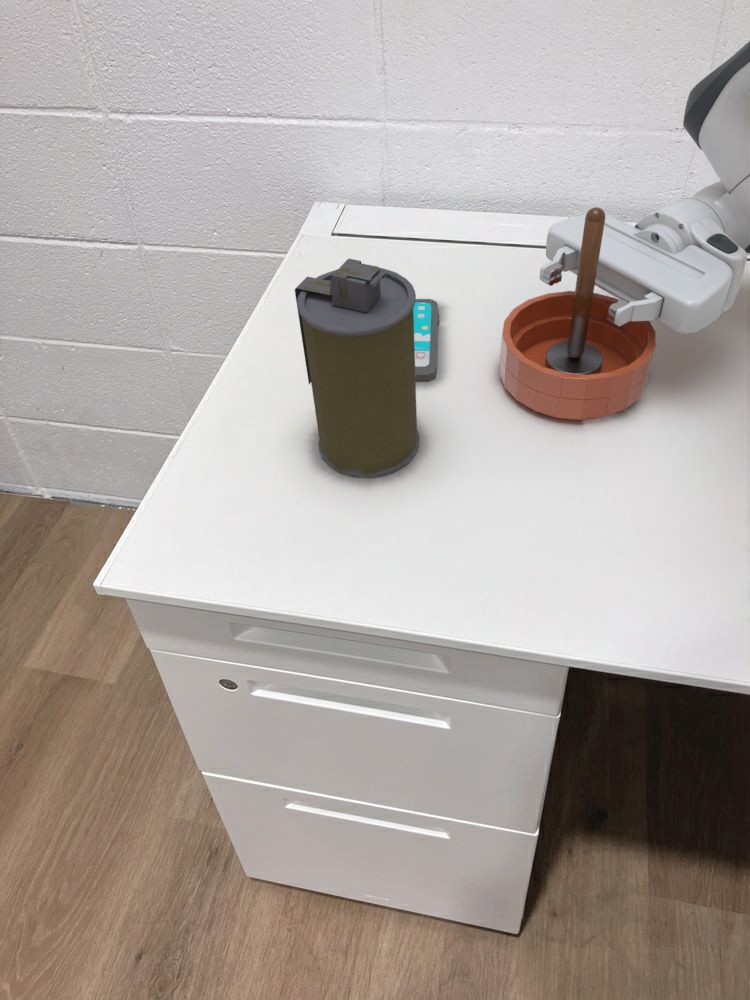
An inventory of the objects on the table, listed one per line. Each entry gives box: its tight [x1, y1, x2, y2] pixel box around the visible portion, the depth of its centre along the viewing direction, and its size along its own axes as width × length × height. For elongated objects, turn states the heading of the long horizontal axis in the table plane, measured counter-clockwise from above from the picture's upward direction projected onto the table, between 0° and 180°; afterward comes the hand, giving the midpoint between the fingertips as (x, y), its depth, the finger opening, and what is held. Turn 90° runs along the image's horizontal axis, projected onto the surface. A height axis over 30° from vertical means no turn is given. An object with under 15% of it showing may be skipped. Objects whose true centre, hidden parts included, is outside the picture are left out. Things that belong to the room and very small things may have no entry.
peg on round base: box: [545, 206, 606, 375], centre depth 81 cm, size 6×6×19 cm
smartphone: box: [413, 298, 440, 382], centre depth 94 cm, size 9×1×15 cm
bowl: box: [498, 290, 657, 421], centre depth 86 cm, size 16×16×6 cm
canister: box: [294, 258, 420, 479], centre depth 76 cm, size 11×10×20 cm
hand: (577, 296), depth 80 cm, fingers open, 8 cm apart
